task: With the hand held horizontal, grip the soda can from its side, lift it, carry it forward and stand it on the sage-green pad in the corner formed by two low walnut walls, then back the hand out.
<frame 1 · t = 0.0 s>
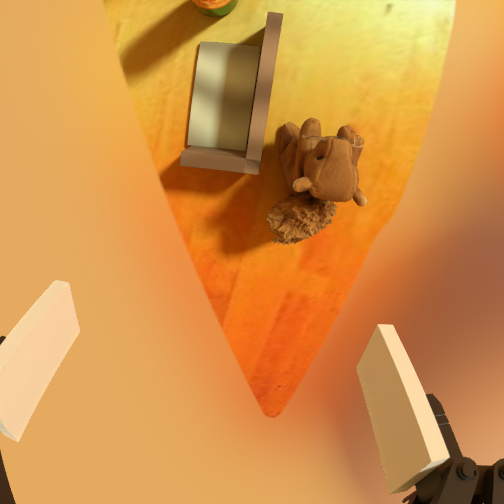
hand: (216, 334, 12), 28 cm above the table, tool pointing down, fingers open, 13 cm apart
brown wooden angled piece: (221, 74, 31), on the table
stuffed squirrel: (310, 173, 37), on the table
soda can: (217, 1, 27), on the table
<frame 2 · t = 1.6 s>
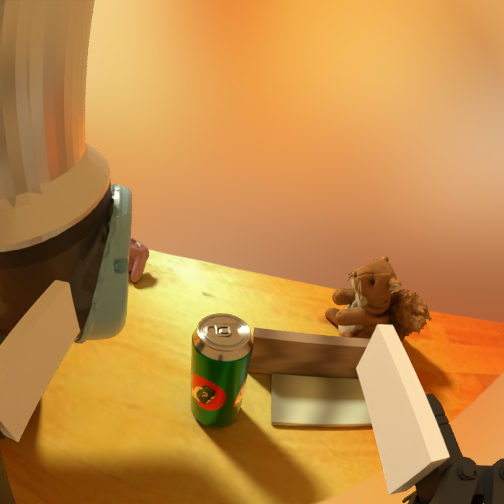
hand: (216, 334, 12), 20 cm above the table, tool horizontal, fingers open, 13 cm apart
brown wooden angled piece: (306, 405, 31), on the table
video game controller: (120, 271, 50), on the table
stuffed squirrel: (364, 340, 43), on the table
soda can: (215, 411, 29), on the table
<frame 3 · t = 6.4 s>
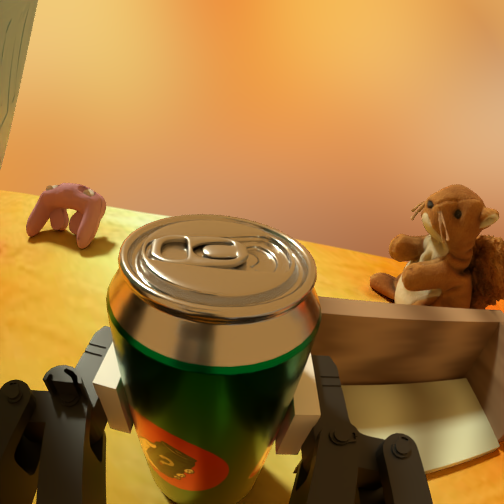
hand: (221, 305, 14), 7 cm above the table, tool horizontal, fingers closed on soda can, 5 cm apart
brown wooden angled piece: (382, 439, 14), on the table
video game controller: (66, 236, 31), on the table
stuffed squirrel: (430, 319, 26), on the table
soda can: (203, 470, 12), on the table, touching gripper
when the fingers open (9 cm above the table, at t = 10.4 s): soda can drops 2 cm, resting on brown wooden angled piece.
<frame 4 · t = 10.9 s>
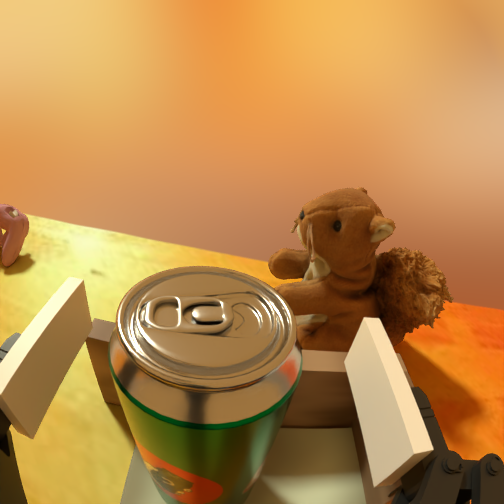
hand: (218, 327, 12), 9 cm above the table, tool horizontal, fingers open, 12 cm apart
brown wooden angled piece: (202, 481, 13), on the table
video game controller: (1, 253, 29), on the table
stuffed squirrel: (335, 343, 26), on the table
soda can: (203, 481, 13), resting on brown wooden angled piece
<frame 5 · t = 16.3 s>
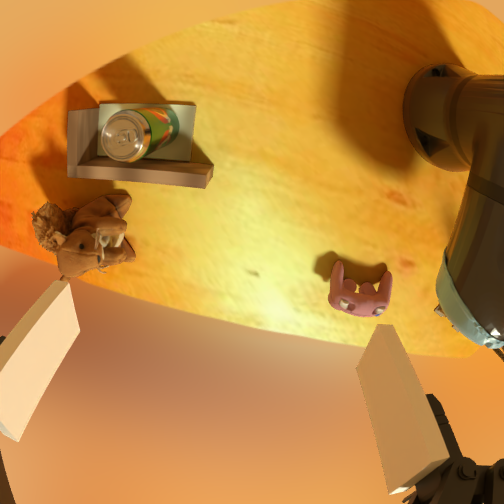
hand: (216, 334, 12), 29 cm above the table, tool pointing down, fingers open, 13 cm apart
brown wooden angled piece: (162, 127, 35), on the table
video game controller: (356, 279, 45), on the table
stuffed squirrel: (99, 221, 41), on the table
soda can: (161, 126, 35), resting on brown wooden angled piece
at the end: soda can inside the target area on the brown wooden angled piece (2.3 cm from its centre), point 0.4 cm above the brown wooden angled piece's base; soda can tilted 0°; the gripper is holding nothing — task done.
